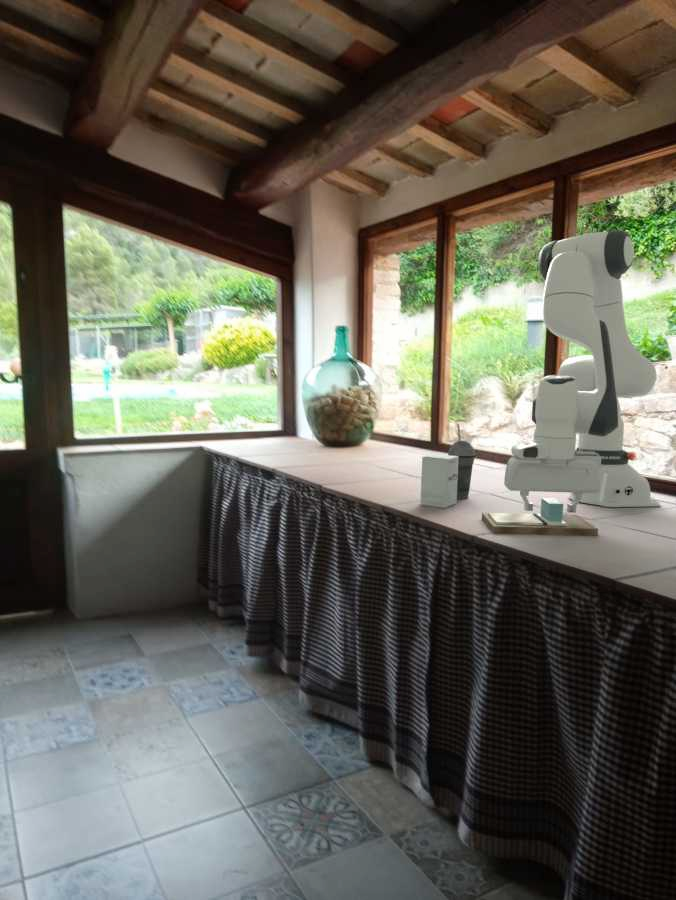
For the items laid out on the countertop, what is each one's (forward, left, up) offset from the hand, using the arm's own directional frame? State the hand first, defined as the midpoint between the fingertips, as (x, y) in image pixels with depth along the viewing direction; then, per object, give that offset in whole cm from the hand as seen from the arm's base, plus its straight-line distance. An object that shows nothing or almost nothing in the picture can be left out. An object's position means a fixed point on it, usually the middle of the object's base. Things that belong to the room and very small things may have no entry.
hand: (549, 511), depth 143 cm
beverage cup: (+15, -33, -4) cm, 36 cm away
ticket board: (+4, 0, -4) cm, 5 cm away
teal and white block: (0, 0, -2) cm, 2 cm away
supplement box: (+22, -23, -4) cm, 31 cm away
